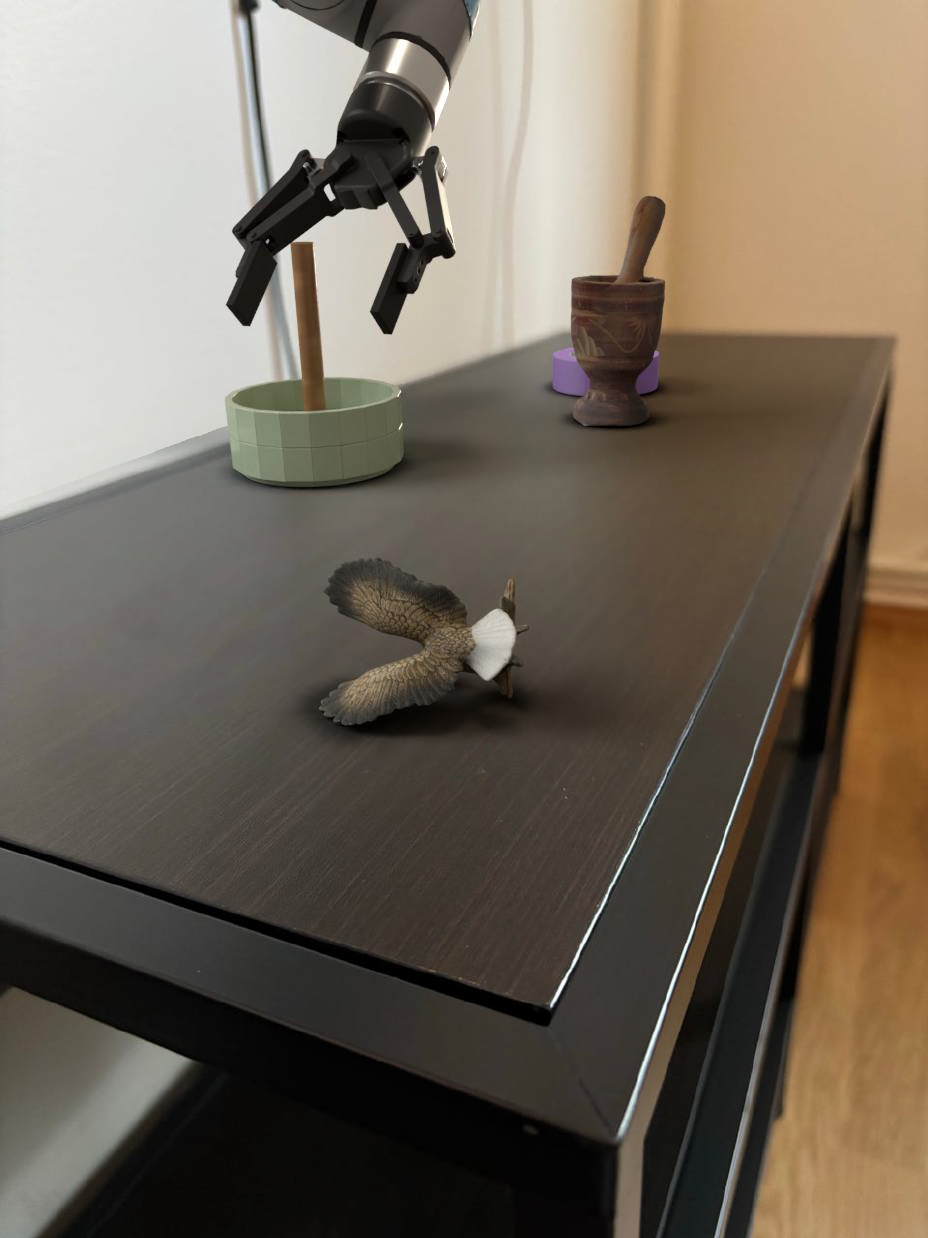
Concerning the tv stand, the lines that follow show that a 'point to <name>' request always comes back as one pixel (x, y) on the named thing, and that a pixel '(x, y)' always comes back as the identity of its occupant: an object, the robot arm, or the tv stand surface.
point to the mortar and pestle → (619, 327)
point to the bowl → (315, 432)
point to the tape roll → (576, 381)
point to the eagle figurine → (427, 619)
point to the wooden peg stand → (308, 325)
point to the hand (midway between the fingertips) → (306, 319)
